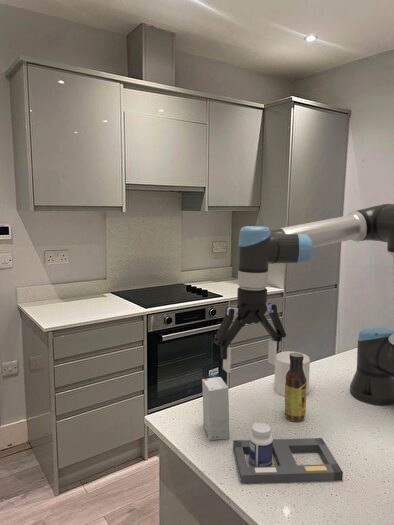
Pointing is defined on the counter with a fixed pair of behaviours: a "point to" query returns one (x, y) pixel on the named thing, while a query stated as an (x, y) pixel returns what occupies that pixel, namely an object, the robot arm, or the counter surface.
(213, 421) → the skincare box
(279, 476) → the socket panel
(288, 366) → the cup
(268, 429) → the pill bottle
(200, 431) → the counter surface
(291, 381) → the sauce bottle
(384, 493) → the counter surface
